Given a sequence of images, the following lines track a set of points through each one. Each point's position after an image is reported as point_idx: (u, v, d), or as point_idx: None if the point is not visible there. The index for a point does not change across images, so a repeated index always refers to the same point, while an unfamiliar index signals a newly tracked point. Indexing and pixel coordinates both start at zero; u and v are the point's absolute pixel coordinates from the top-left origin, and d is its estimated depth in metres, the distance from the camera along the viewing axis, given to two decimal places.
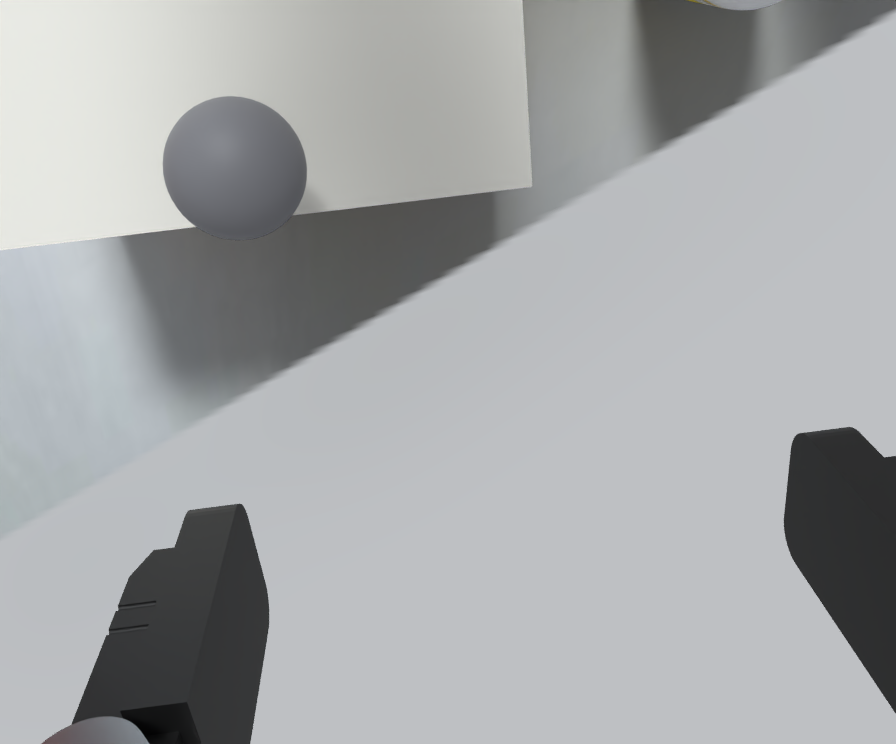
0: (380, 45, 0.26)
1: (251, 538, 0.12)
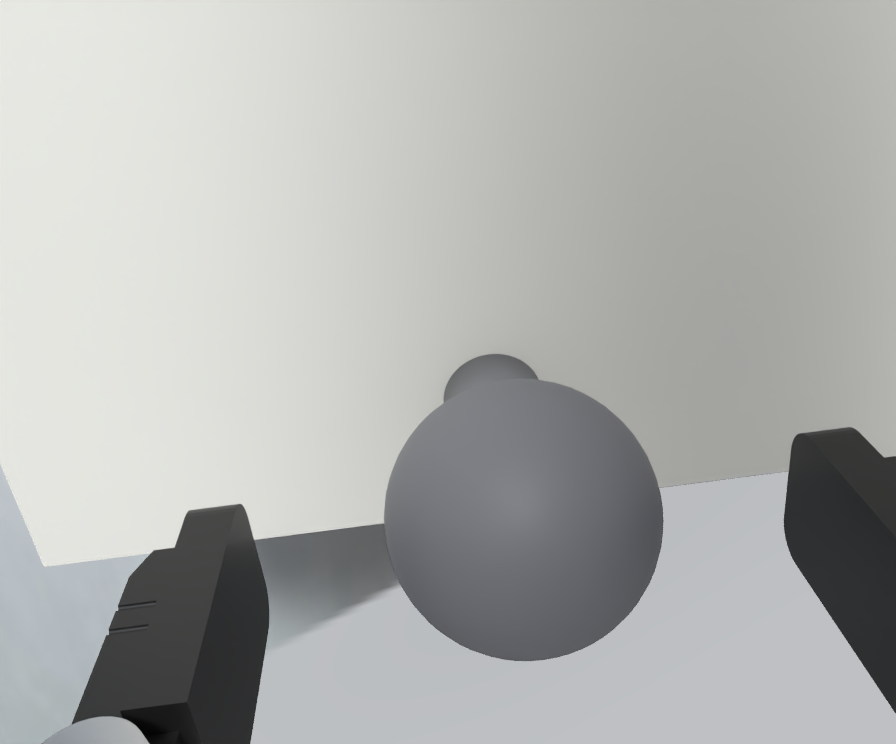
0: (744, 237, 0.14)
1: (251, 538, 0.12)
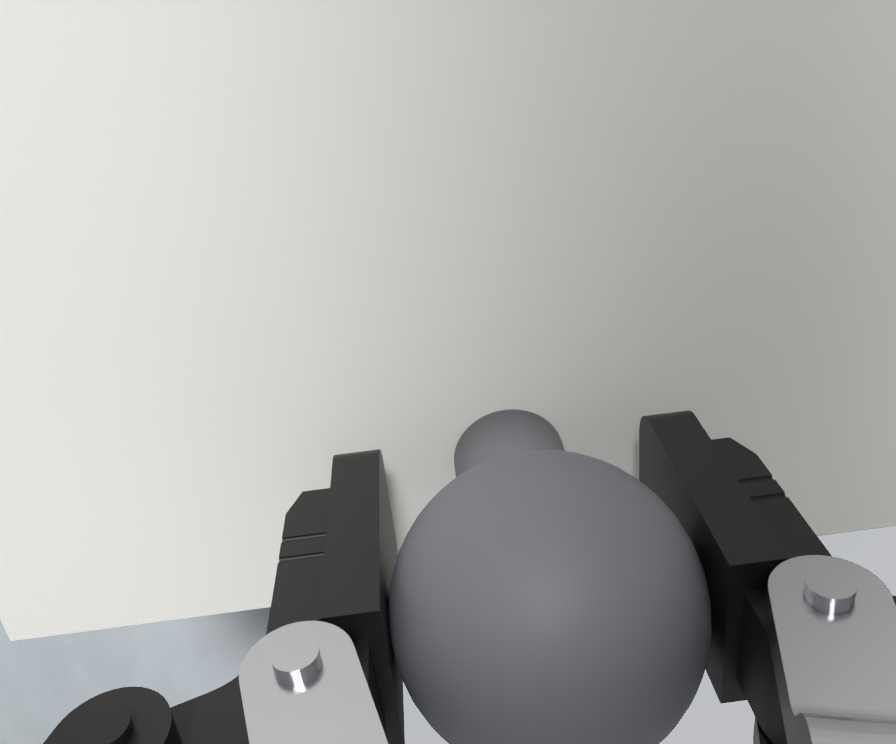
0: (793, 280, 0.13)
1: (386, 483, 0.13)
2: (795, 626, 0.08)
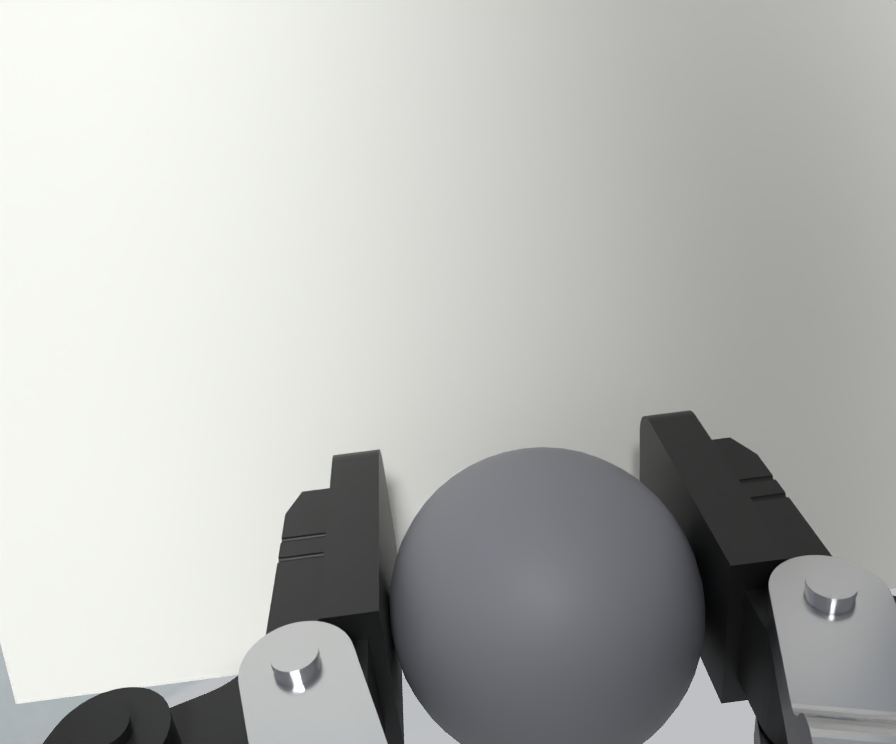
0: (767, 326, 0.14)
1: (386, 483, 0.13)
2: (796, 626, 0.08)
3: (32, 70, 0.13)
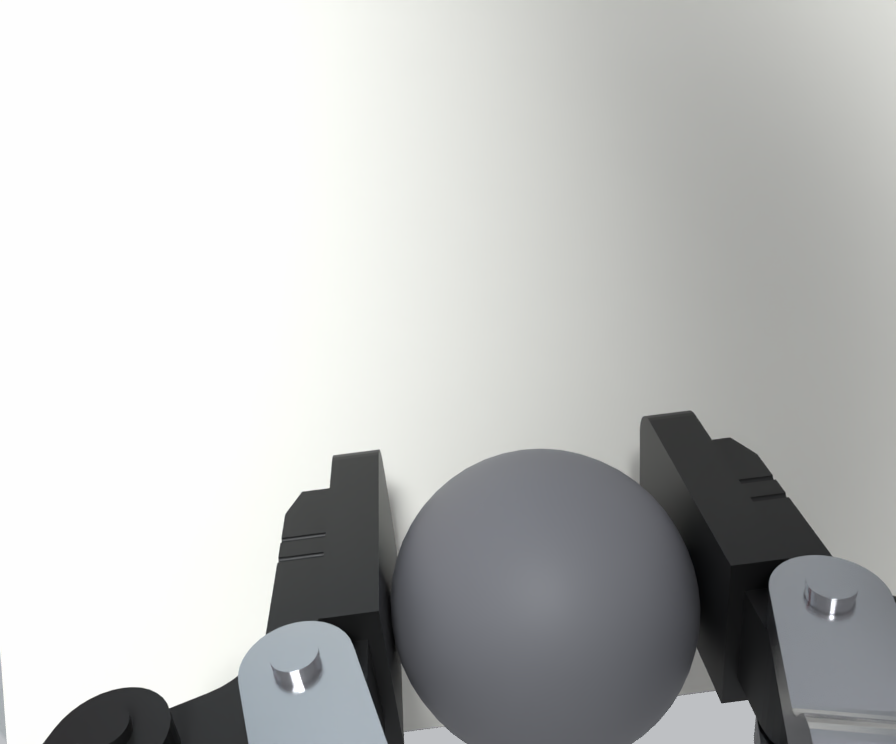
0: (751, 390, 0.15)
1: (385, 483, 0.13)
2: (796, 626, 0.08)
3: (110, 178, 0.15)
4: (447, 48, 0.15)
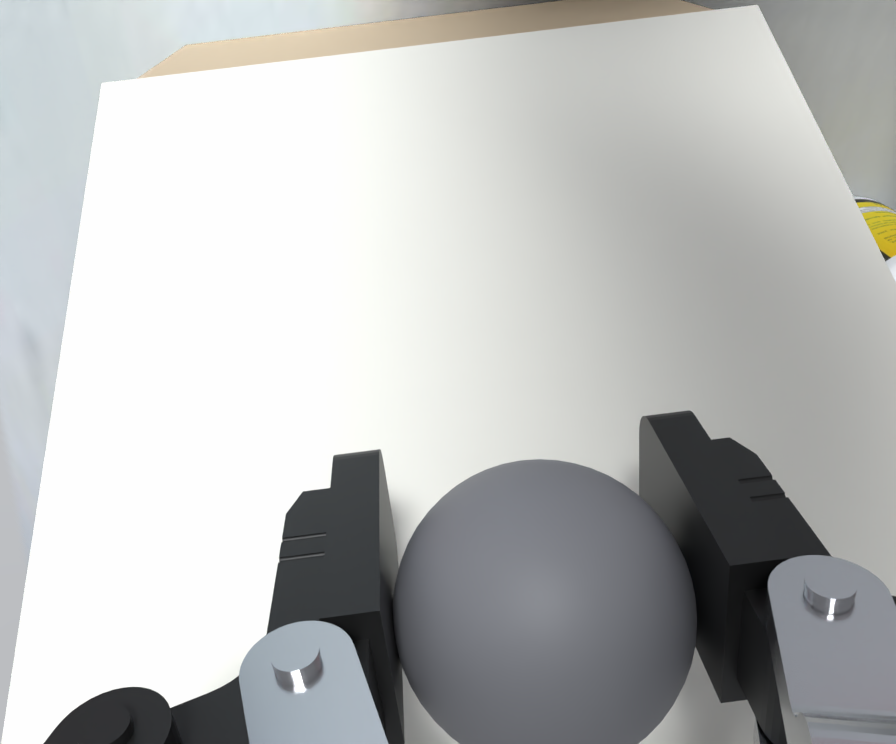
0: None
1: (386, 483, 0.13)
2: (795, 626, 0.08)
3: (180, 336, 0.18)
4: (461, 241, 0.19)
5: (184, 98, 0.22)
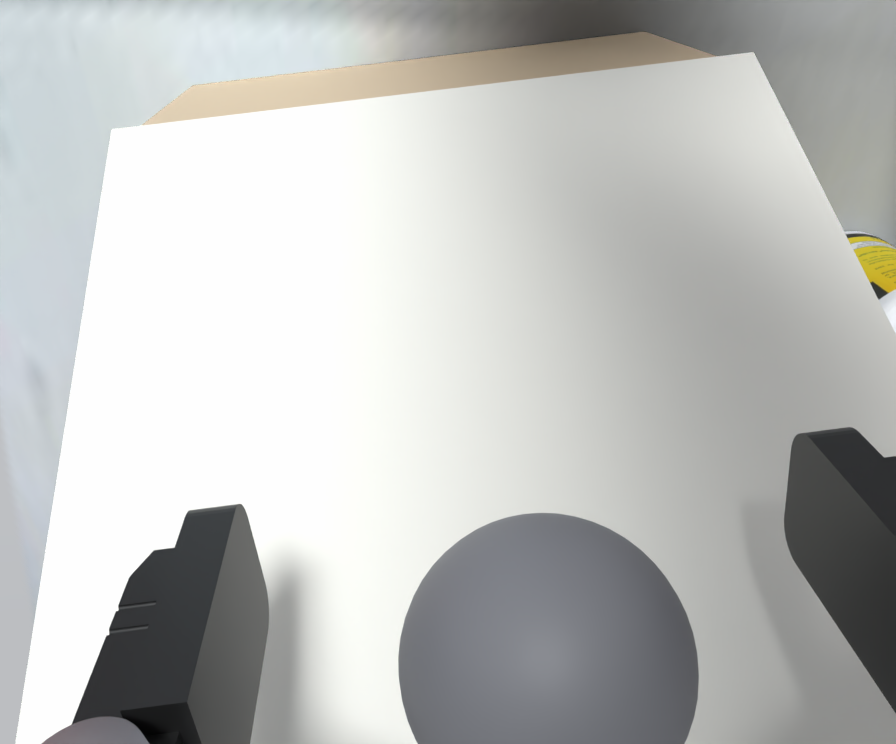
0: (750, 542, 0.16)
1: (251, 538, 0.12)
2: None
3: (187, 381, 0.18)
4: (464, 285, 0.20)
5: (192, 144, 0.23)
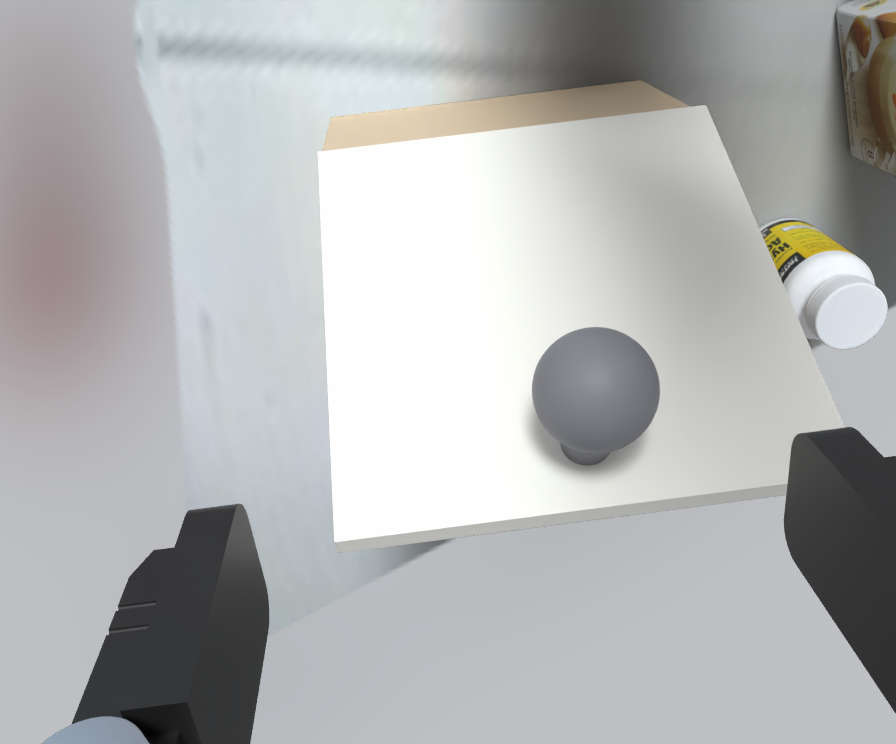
0: (692, 367, 0.31)
1: (251, 538, 0.12)
2: None
3: (388, 293, 0.34)
4: (537, 242, 0.35)
5: (369, 161, 0.38)
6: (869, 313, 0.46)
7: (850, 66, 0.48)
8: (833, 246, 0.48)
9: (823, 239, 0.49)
